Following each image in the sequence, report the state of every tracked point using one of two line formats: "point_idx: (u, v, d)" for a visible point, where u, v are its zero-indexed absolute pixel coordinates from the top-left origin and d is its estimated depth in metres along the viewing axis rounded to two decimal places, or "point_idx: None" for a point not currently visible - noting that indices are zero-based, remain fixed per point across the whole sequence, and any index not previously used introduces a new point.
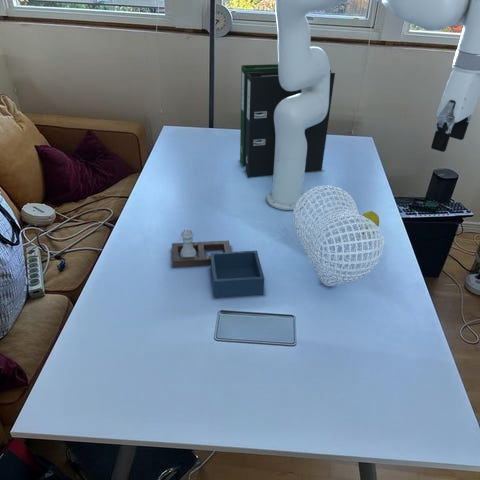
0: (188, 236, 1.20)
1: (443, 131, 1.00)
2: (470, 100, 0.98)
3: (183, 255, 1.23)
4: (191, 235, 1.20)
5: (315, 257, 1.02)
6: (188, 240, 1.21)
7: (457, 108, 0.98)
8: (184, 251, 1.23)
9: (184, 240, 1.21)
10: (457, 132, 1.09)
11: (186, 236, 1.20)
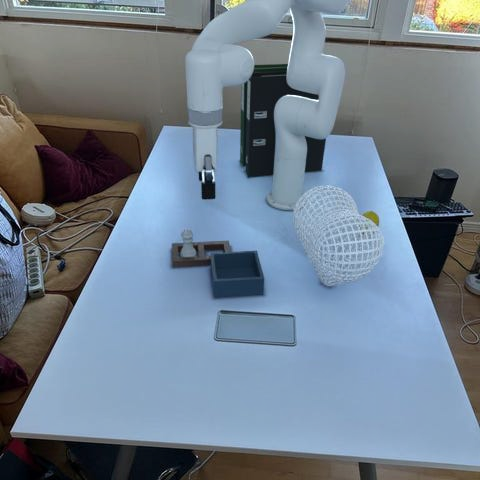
0: (188, 236, 1.20)
1: (211, 182, 1.05)
2: None
3: (183, 255, 1.23)
4: (191, 235, 1.20)
5: (315, 257, 1.02)
6: (188, 240, 1.21)
7: (214, 160, 1.03)
8: (184, 251, 1.23)
9: (184, 240, 1.21)
10: (205, 175, 1.15)
11: (186, 236, 1.20)
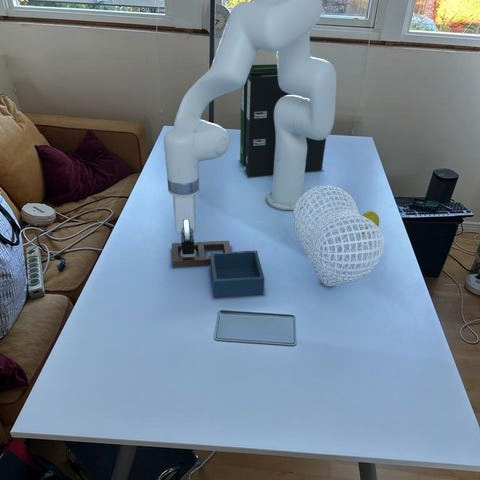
0: None
1: (189, 241, 1.18)
2: None
3: (183, 255, 1.23)
4: None
5: (315, 257, 1.02)
6: None
7: (192, 223, 1.13)
8: None
9: None
10: None
11: None
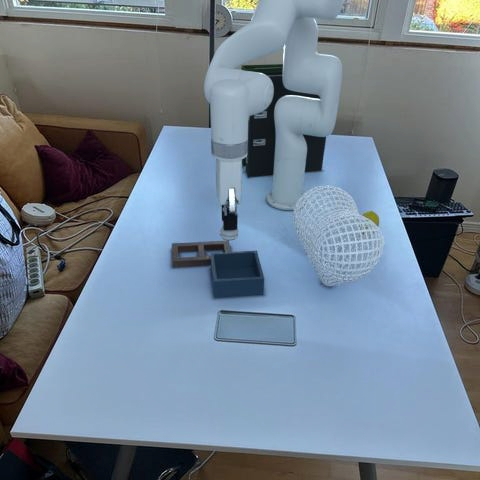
0: None
1: (233, 214, 1.03)
2: None
3: (224, 233, 1.08)
4: None
5: (315, 257, 1.02)
6: None
7: (238, 193, 0.98)
8: None
9: None
10: None
11: None
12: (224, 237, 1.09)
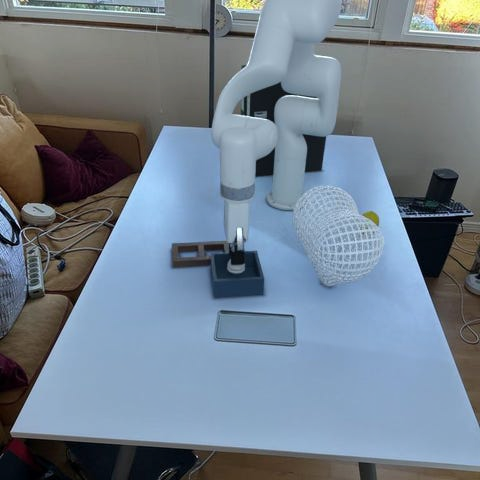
0: None
1: (240, 251, 1.08)
2: None
3: (231, 267, 1.13)
4: None
5: (315, 257, 1.02)
6: None
7: (246, 232, 1.03)
8: None
9: None
10: None
11: None
12: (231, 271, 1.14)
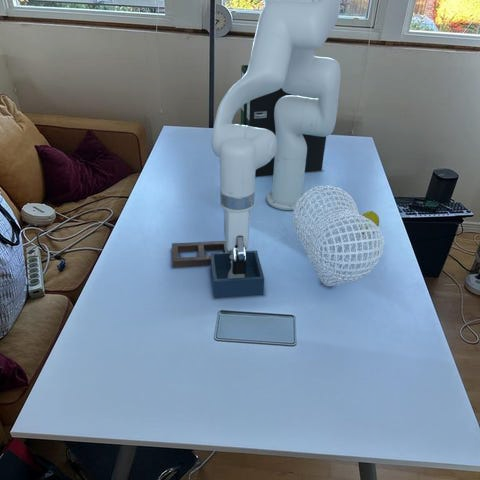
0: None
1: (242, 261, 1.06)
2: None
3: None
4: None
5: (315, 257, 1.02)
6: None
7: (246, 240, 1.04)
8: (232, 274, 1.15)
9: None
10: (234, 246, 1.16)
11: None
12: None
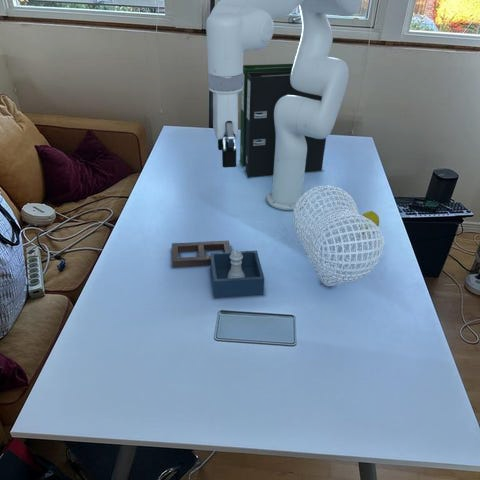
0: (238, 258, 1.12)
1: (232, 150, 1.05)
2: None
3: None
4: (241, 257, 1.12)
5: (315, 257, 1.02)
6: (237, 262, 1.13)
7: (235, 126, 1.03)
8: (232, 274, 1.15)
9: (233, 262, 1.13)
10: None
11: (236, 258, 1.12)
12: None
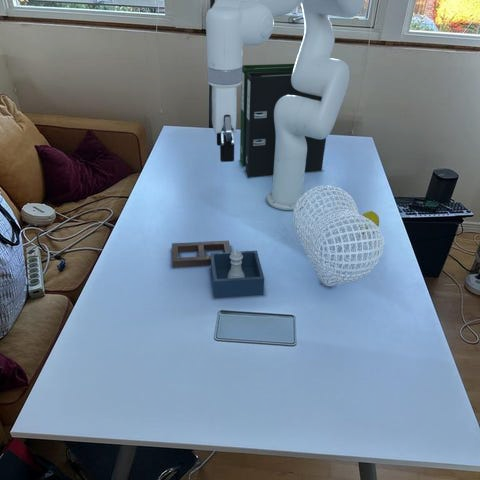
0: (238, 258, 1.12)
1: (230, 144, 1.05)
2: None
3: None
4: (241, 257, 1.12)
5: (315, 257, 1.02)
6: (237, 262, 1.13)
7: (233, 120, 1.03)
8: (232, 274, 1.15)
9: (233, 262, 1.13)
10: None
11: (236, 258, 1.12)
12: None
